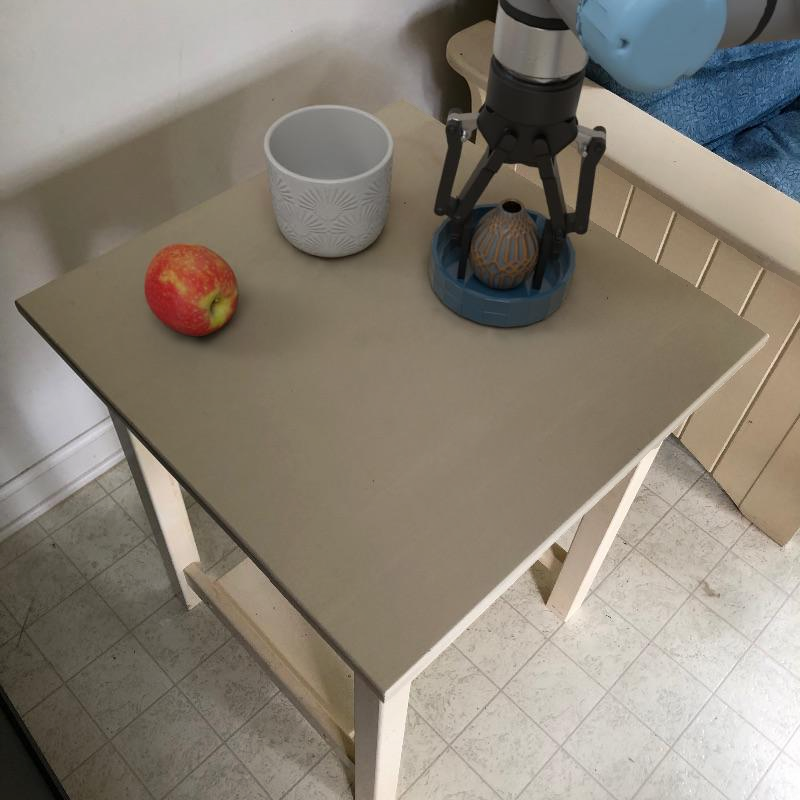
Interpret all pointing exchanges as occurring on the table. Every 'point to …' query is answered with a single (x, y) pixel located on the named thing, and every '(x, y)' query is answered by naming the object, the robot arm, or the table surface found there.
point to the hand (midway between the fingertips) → (499, 273)
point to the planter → (329, 178)
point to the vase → (504, 246)
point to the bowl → (489, 302)
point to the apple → (191, 289)
